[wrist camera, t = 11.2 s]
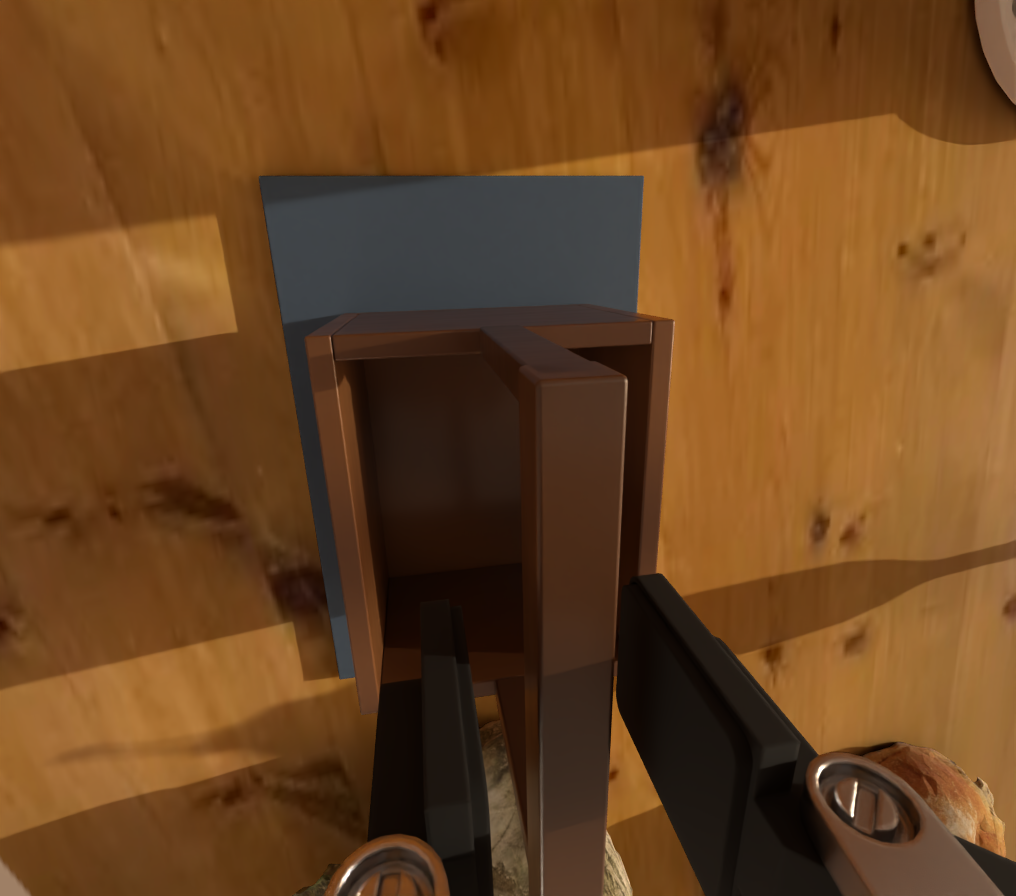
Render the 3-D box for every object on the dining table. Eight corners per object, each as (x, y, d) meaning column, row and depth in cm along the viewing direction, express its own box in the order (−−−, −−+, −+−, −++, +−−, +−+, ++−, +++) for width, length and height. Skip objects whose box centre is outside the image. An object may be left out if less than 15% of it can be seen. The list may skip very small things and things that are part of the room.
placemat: (261, 177, 17) (257, 175, 17) (640, 177, 19) (644, 175, 19) (340, 673, 24) (339, 680, 23) (616, 635, 25) (620, 640, 25)
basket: (342, 311, 18) (182, 402, 6) (589, 302, 20) (907, 358, 7) (376, 584, 22) (325, 1014, 9) (583, 560, 23) (786, 907, 11)
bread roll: (809, 694, 34) (850, 807, 27) (997, 734, 32) (1098, 870, 24) (779, 805, 37) (808, 934, 30) (948, 849, 35) (1024, 1001, 27)
